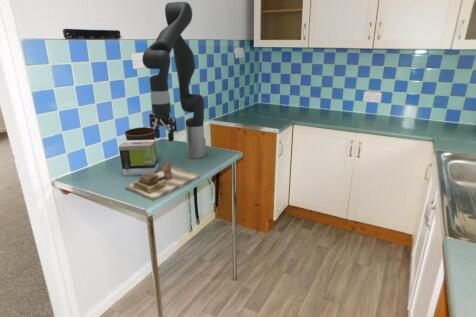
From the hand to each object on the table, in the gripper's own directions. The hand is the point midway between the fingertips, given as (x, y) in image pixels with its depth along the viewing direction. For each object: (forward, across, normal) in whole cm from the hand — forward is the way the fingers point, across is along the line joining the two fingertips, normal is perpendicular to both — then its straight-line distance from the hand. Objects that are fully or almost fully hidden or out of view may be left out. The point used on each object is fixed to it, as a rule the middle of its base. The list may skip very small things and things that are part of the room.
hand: (164, 139), depth 136 cm
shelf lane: (+20, 0, +3) cm, 20 cm away
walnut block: (+18, 0, +6) cm, 19 cm away
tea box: (+20, +19, 0) cm, 27 cm away
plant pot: (+20, +30, -10) cm, 37 cm away
